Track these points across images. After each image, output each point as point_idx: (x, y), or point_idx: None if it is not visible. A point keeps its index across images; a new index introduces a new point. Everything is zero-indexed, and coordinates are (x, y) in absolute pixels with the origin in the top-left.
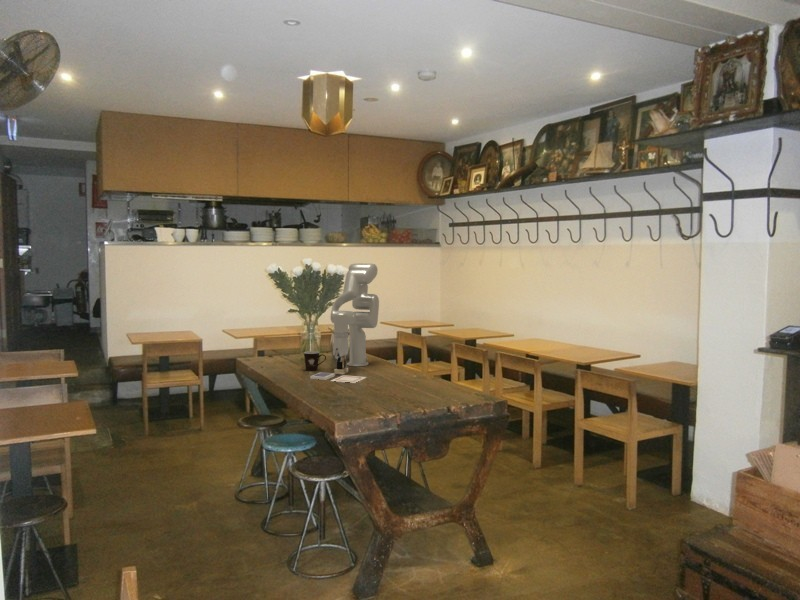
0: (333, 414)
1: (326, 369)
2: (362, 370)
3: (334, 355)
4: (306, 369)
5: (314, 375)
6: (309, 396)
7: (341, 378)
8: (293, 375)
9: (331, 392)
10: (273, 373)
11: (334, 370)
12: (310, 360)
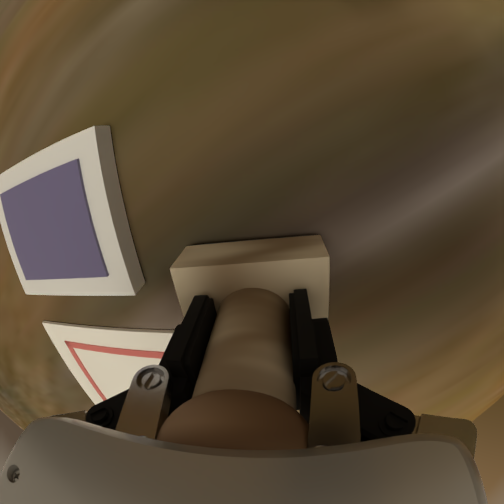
0: None
1: (397, 21)
2: (447, 341)
3: (76, 429)
4: None
5: (1, 198)
6: None
7: (111, 359)
8: (38, 5)
9: (6, 371)
10: None
11: (175, 265)
12: None
